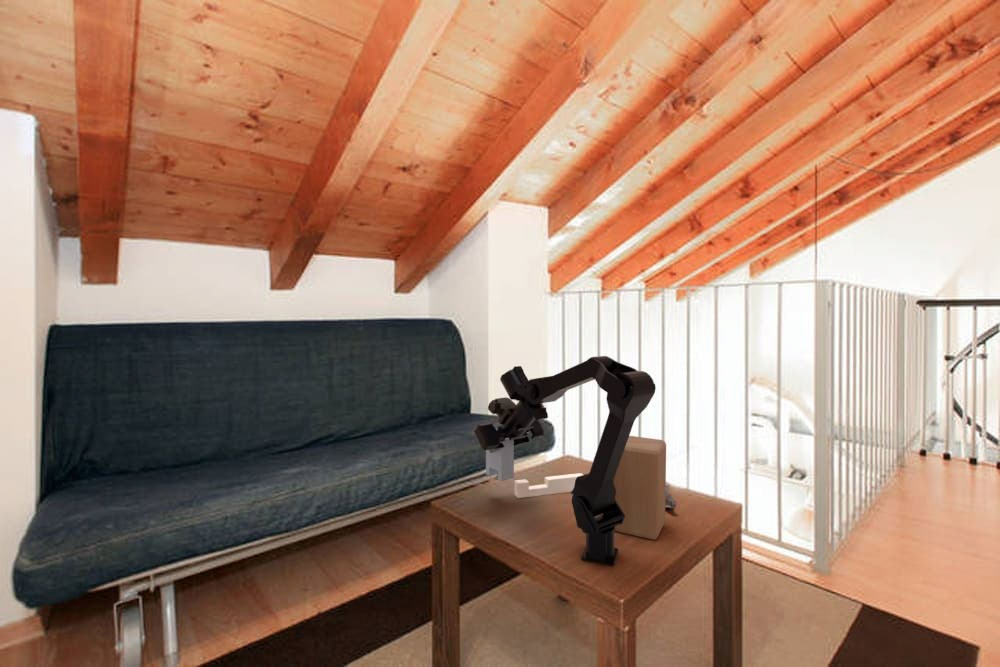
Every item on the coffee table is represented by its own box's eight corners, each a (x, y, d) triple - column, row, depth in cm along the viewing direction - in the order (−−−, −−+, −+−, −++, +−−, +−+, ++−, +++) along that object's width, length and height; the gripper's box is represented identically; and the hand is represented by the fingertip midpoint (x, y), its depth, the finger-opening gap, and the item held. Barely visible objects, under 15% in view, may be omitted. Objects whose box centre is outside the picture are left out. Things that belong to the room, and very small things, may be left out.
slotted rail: (584, 490, 129) (585, 475, 129) (517, 498, 123) (517, 483, 123) (580, 486, 131) (581, 473, 131) (514, 495, 125) (514, 480, 125)
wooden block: (623, 515, 113) (623, 433, 112) (665, 524, 108) (667, 439, 107) (611, 531, 104) (612, 443, 103) (657, 542, 99) (658, 450, 98)
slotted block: (513, 477, 119) (513, 437, 118) (501, 481, 116) (501, 440, 116) (498, 470, 124) (498, 432, 124) (485, 473, 122) (485, 434, 121)
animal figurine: (646, 503, 123) (645, 483, 124) (662, 502, 123) (661, 483, 124) (665, 514, 111) (664, 492, 112) (683, 513, 111) (682, 491, 112)
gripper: (536, 385, 122) (511, 419, 131) (478, 392, 111) (454, 429, 120) (557, 420, 116) (529, 453, 125) (497, 431, 105) (471, 466, 114)
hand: (496, 449), depth 121 cm, fingers closed on slotted block, 4 cm apart
